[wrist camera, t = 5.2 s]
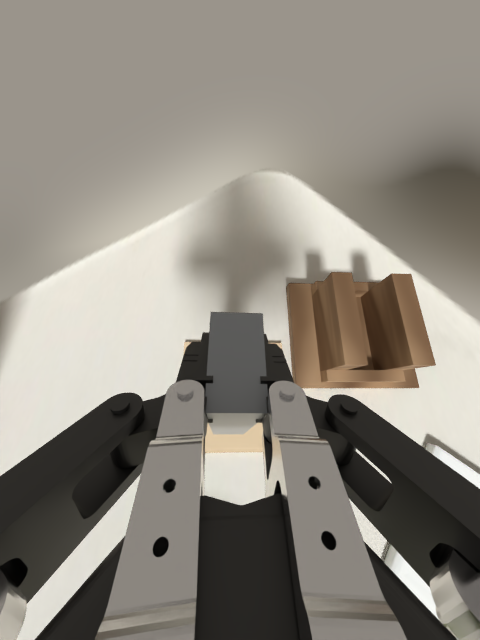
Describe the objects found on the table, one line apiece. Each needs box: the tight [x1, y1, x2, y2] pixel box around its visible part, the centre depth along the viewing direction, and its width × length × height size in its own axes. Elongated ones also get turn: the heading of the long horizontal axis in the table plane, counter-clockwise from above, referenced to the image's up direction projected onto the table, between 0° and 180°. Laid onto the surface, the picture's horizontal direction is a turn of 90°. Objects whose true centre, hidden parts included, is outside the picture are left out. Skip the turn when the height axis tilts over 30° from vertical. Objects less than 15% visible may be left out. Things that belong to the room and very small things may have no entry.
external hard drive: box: [384, 443, 480, 640], centre depth 19 cm, size 2×8×12 cm
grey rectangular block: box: [205, 312, 268, 434], centre depth 13 cm, size 2×4×10 cm, turn 0°
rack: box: [286, 272, 436, 388], centre depth 22 cm, size 12×11×6 cm
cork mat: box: [184, 342, 282, 453], centre depth 22 cm, size 10×10×1 cm
